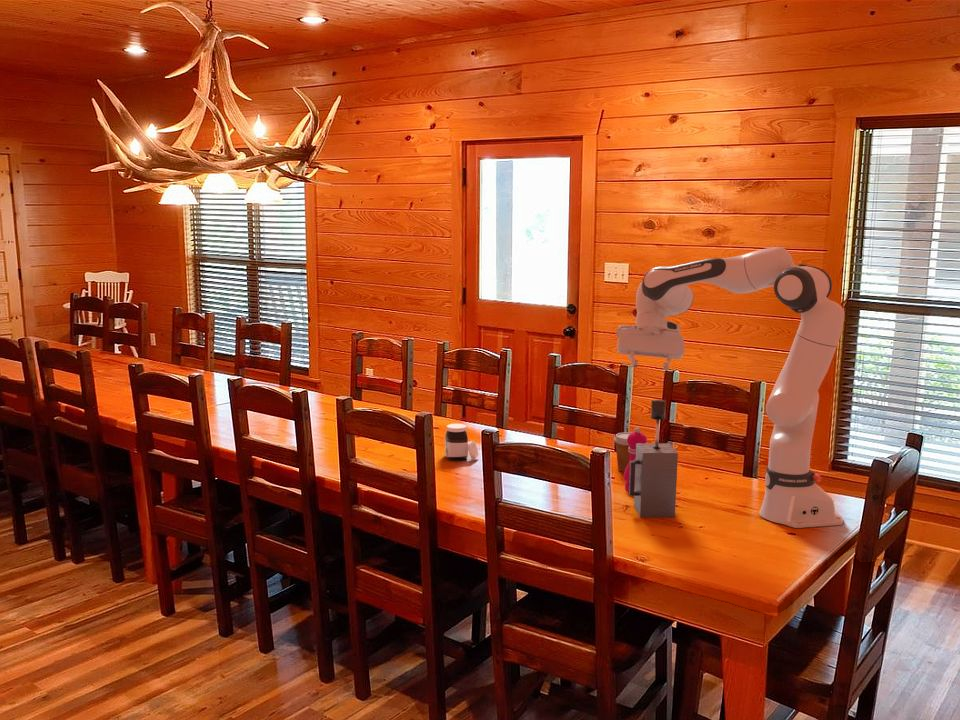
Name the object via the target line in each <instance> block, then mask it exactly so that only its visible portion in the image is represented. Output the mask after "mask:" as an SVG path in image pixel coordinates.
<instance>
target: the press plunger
mask: <svg viewBox="0 0 960 720" xmlns="http://www.w3.org/2000/svg"><path fill="white" fill-rule="evenodd" d="M666 405H667V402H666V400H665V399H652V400H651V406H650V407H651V408H650V418H651V419H652V420H655V436H654V437H655V438H654V439H655V441H654V443H655V449H658V448H659V443H660V441H659V440H660V422H661V421H662V420H665V419H666V407H667V406H666ZM660 420H661V421H660Z"/></svg>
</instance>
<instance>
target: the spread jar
mask: <svg viewBox="0 0 960 720" xmlns="http://www.w3.org/2000/svg"><path fill="white" fill-rule="evenodd" d="M444 452H445V453H444V454H445V459H446V460H448V461H454V462H456V461H457V462H459V461H464V460H467V458H468V456H470V459H471V460H472V461H477V460H478V459H479V451H478V447H477V445H476V443H475V441H474V440H471V441H469V436H468V433H467V425H466V424H463V423H450V424H447V425H446V432H445V434H444Z"/></svg>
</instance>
